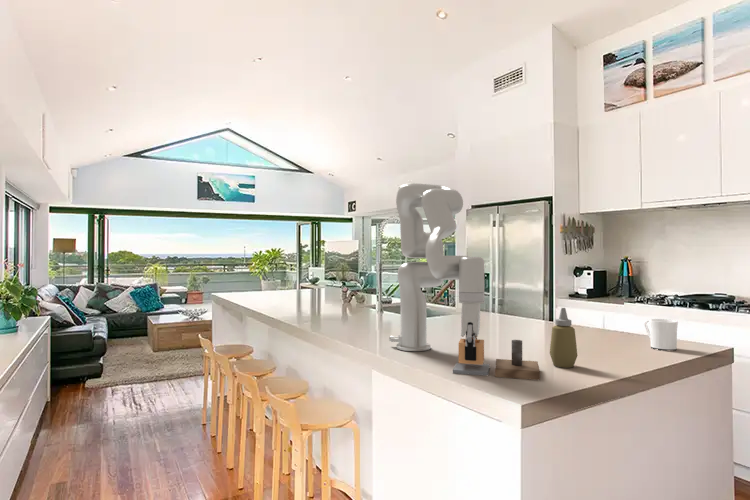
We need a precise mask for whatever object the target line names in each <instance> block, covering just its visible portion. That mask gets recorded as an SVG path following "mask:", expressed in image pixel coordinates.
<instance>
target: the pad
mask: <svg viewBox="0 0 750 500" xmlns="http://www.w3.org/2000/svg"><path fill="white" fill-rule="evenodd" d="M490 365H491V364H489V363H483V365H479V364H463V363H459V361H456V363H455V365H454V367H453V369H452V374H459V375H471V376H472V375H473V376H475V375H476V376H486V375H488V376H489V373H490V372H489V371H490V368H489V367H490Z"/></svg>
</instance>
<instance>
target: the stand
mask: <svg viewBox="0 0 750 500" xmlns="http://www.w3.org/2000/svg"><path fill="white" fill-rule="evenodd" d="M494 371H495V372H494V373H495V374H494V377H495V378H502V377H503V378H504V379H505V378H506V379H519V380H520V379H521V380H535V381H540V380H541V369H540V365H539V361H536V360H524V359H523V340H521V339H511V359H503V358H496V360H495V367H494ZM503 378H502V379H503Z"/></svg>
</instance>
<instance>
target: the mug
mask: <svg viewBox="0 0 750 500" xmlns="http://www.w3.org/2000/svg"><path fill="white" fill-rule="evenodd" d="M648 323H649V326H648ZM678 324H679V322H678V320H675V319H674V320H673V319H667V318H666V319H665V318H650V319H647V320H645V321H644V324H643V325H644V328H645V330H646V333H647V336H648V338H649V340H650V349H652V348H653V349H652V350H655V349H658V350H657V351H661V350H675V351H677V347H678V345H677V342H678V341H677V340H678V338H677V337H678ZM649 328H650V329H649Z"/></svg>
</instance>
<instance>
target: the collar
mask: <svg viewBox="0 0 750 500" xmlns="http://www.w3.org/2000/svg"><path fill="white" fill-rule="evenodd" d="M465 343H466V338H460V339H459V341H458V362H459V363H463V364H479V365H483V364H484V362H485V339H479V338H477V339H475V347H476V361H470V360H465Z"/></svg>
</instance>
